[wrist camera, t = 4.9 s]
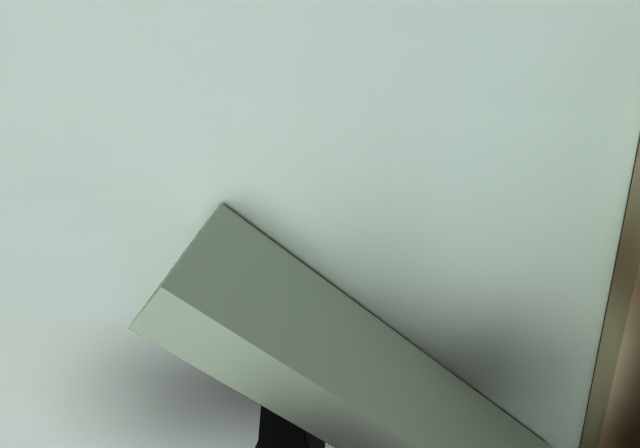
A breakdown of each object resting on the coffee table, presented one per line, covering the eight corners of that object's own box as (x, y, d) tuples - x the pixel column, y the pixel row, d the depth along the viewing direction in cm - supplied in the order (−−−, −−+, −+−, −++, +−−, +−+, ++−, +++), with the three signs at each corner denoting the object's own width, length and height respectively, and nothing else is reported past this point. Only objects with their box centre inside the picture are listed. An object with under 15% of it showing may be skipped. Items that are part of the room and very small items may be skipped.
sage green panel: (568, 459, 13) (669, 606, 10) (546, 473, 14) (636, 621, 10) (221, 203, 9) (160, 287, 5) (199, 230, 9) (127, 328, 6)
